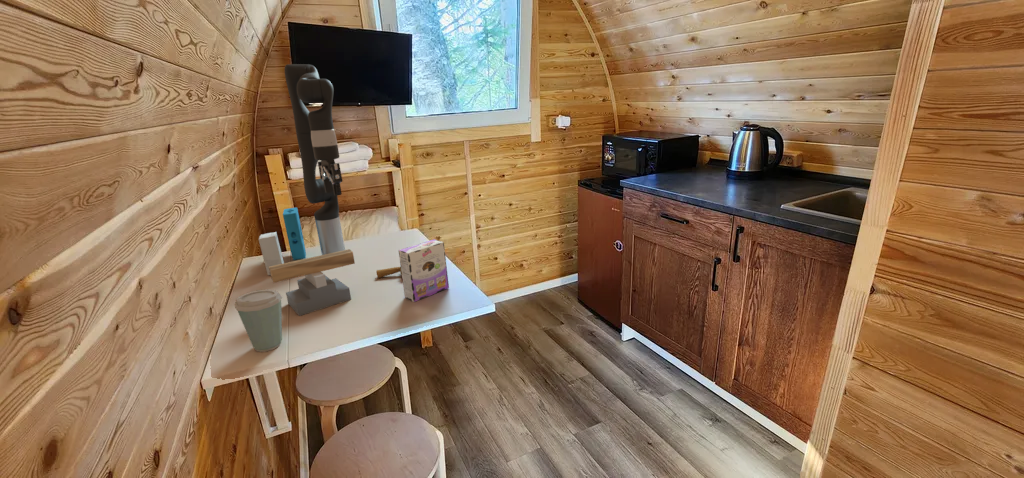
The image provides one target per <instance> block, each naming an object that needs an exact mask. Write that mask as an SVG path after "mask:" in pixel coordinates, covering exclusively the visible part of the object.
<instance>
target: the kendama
mask: <svg viewBox="0 0 1024 478" xmlns="http://www.w3.org/2000/svg"><path fill="white" fill-rule="evenodd" d="M397 273H400V275H401V276H402V272H401V266H396V267H395V266H394V267H389V268H383V269H376V275H377V276H376V277H377V278H378V279H380V278H384V277H387V276H391V275H393V274H397Z"/></svg>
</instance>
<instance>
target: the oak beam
mask: <svg viewBox="0 0 1024 478" xmlns="http://www.w3.org/2000/svg"><path fill="white" fill-rule="evenodd" d="M355 263H356V262H355V256H354V252H353V251H352V250H351V249H349V248H348V249H345V250H343V251H339V252H334V253H330V254H325V255H322V254H321V255H317V256H313V257H306V258H304V259H299V260H292V261H289V262H284V264H279V265H275V266H270V267H269V270H270V274H271V275H270V278H271V281H272V283H273V284H274V283H279V282H283V281H287V280H291V279H292V280H293V279H295V278H299V277H300V278H301V277H305V275H309V274H313V273H317V272H325V271H329V270H333V269H338V268H341V267H342V268H343V267H346V266H350V265H355Z"/></svg>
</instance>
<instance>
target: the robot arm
mask: <svg viewBox="0 0 1024 478" xmlns="http://www.w3.org/2000/svg"><path fill="white" fill-rule="evenodd" d="M284 78H285V83H286V86H287V90H288V96H289V100H290V105H291V109H292V113H293V119H294V127H295V128H294V129H295V133H296V139H297V144H298V145H297V146H298V150H299V154H300V159H301V166H302V177H303V186H304V193H305V196H306V199H307V201H308V202H309V204H310V203H311V204H319V203H320V204H321V203H324V204H323V205H322V207H320V208H319V209H317V210H315V212H314V213H313V216H314V221H315V226H316V231H317V237H318V242H319V246H320V252H321V255H325V254H330V253H334V252H339V251H343V250H346V248H345V243H344V242H345V241H344V237H343V231H342V230H343V229H342V224H341V218H340V214H339V213H340V206H339V199H338V198H339V197H338V196H342V187H341V183H342V182H343V175H342V172H341V171H342V170H341V166H340V163H339V162H337V163H336V161H335V160H337V159H340V152H339V146H338V140H337V135H336V132H335V127H334V122H333V120H334V119H333V112H332V111H333V100H334V91H335V90H334V85H333V83H331V81H330V80H329V79H327V78H320V74H319V72H318V69H317V68H316V67H315V66H314V65H313V64H309V63H308V64H304V63H303V64H301V63H300V64H299V63H298V64H297V63H292V64H291V63H288V64H286V65H285V66H284ZM304 103H306V104H309V103H310V104H313V103H314V104H315V103H317V104H318V103H322V104H323V105H322V107H321V108H319V109H316V110H312V111H310V110H309V109H308V108H307V107H306V105H305V104H304ZM317 166H318V170H319V171H318V172H319V178H317V177H316V176H317V175H316V173H317V172H316V171H317Z"/></svg>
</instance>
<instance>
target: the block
mask: <svg viewBox="0 0 1024 478" xmlns="http://www.w3.org/2000/svg"><path fill="white" fill-rule="evenodd" d="M282 217H283V222H284V223H283V224H284V226H285V232H286V237H287V240H288V245H289V246H288V247H289V249H290V254H291V257H292V261H297V260H302V259H307V253H306V247H305V239H304V235H303V229H302V223H301V220H300V215H299V209H298V207H290V208H284V209H283V212H282Z"/></svg>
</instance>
